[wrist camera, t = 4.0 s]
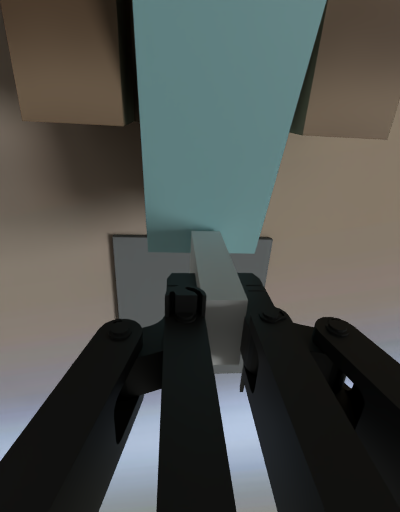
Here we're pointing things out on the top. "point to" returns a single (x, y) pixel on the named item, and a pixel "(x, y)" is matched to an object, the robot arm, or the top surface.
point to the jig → (125, 69)
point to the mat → (155, 279)
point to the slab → (217, 111)
